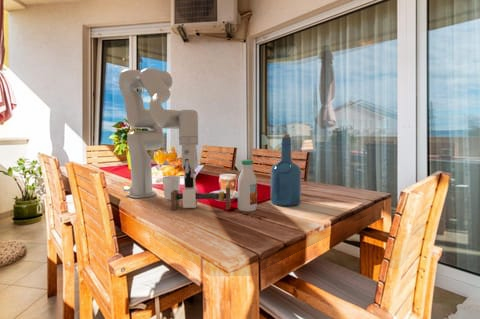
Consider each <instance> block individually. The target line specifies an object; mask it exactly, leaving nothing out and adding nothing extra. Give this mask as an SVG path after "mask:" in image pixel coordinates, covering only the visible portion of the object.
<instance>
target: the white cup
mask: <svg viewBox="0 0 480 319" xmlns="http://www.w3.org/2000/svg"><path fill="white" fill-rule="evenodd" d="M180 182H181V177H180V176H179V175H167V176H162V188H163V195H164V200H168V201H171V192H172V191H173V190H179V193H181V192H180V190H181V189H180V187H181V185H180Z"/></svg>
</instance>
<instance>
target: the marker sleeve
mask: <svg viewBox="0 0 480 319" xmlns="http://www.w3.org/2000/svg"><path fill="white" fill-rule="evenodd" d="M192 177H193V187H192V188H186V187H185V173H184V174H183V180H184V181H183V182H184V184H183V185H184V186H183V187H184V188H182V190H181V191H182V193H183V199H182V208H183V209H190V208H193V209H194V208H196V207H197V205H198V199H196V193H198V187H197V186H196V173H195V172H194V173H192Z"/></svg>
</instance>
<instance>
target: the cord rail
mask: <svg viewBox="0 0 480 319" xmlns="http://www.w3.org/2000/svg"><path fill="white" fill-rule="evenodd" d="M225 186H226V187H225V192H224V191H218V192H212V193H211V192H197V193H196V199H197V200H218V201H225V210H227V211H229V210H228V209H230V210H231V185H230V184H227V185H225ZM180 200H183V192H182V193H181V192H179V190H173V191H172V192H171V200H170V208H171V211H177V210H178V209H179V207H180Z"/></svg>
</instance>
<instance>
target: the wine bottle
mask: <svg viewBox="0 0 480 319" xmlns="http://www.w3.org/2000/svg"><path fill="white" fill-rule="evenodd" d="M282 135H283V136H282V138H281V144H280V145H281V153H280V154H281V156H280V161H278V162H276V163H275V164H273V165H272V167H271V169H270V202H271V203H272V204H274V205H276V206H280V207H293V206H297V205H299V204H301V203H302V178H303V177H302V171H303V170H302V169H301V167H300V165H298V164H297V163H295V162H293V160H292V137H291V136H290V133H284V134H282Z"/></svg>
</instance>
